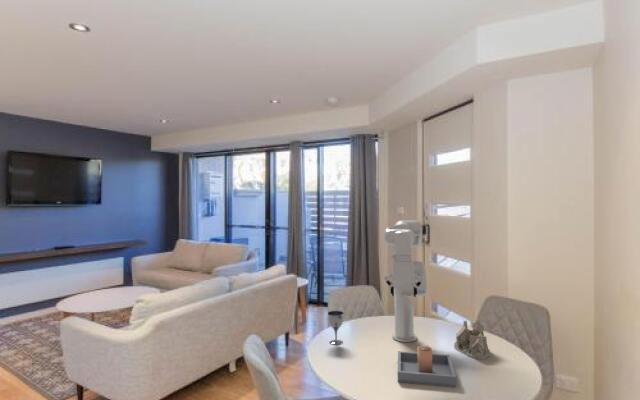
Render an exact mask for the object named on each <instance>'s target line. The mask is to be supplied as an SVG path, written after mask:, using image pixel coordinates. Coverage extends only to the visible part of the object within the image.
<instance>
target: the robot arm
mask: <svg viewBox="0 0 640 400" xmlns="http://www.w3.org/2000/svg"><path fill="white" fill-rule="evenodd" d="M383 236H384V237H383V238H384V243H385V244H386V245H389V246H391V250H392V252H393V255H391V259H392V260H393V261H392V264H391V265H392V267H391V268H392V269H391V273H389V274H387V275H385V276H384V277H383V279H384V280H385V283H386V284H387V285H388V286H389V287H390V294H391V295H392V297H393V298H394V299H393V300H394V302H393V303H394V332H393V333H392V334H391V336H392V339H393V340H394V341H397V342H402V343H411V342H414V341H417V339H418V335H417V334H416V333H415V327H414V325H415V324H414V321H415V320H414V303H413V301H412V300H411V299H410V297H414V298H416V297H425V296H426V295H427V294H428V280H427V268H426V266H425V263H424V262H423V261H421V260H413V259H412V255H413V254H412V248H417V247H421V245H422V244H423V225H422V223H421V221H420V220H416V219H415V220H410V219H408V220H407V219H406V220H398V221H397V222H396V223H395V225H391V226H388V227H386V229H385V230H384V235H383ZM390 278H391V280H392V281H390Z"/></svg>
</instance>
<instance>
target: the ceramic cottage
mask: <svg viewBox="0 0 640 400" xmlns="http://www.w3.org/2000/svg"><path fill="white" fill-rule="evenodd" d="M471 324H472V330H471V329H469V328H468V321H467V320H463V323H462V325H463V326H462V327H461V328H460V330H459V331H458V332H457V333H456V337H455V338H456V339H455V342H454V343H453V344H454V345H453V347H454V350H456V351H457V352H459V353H461V354H463V355H464V356H466V357H467V358H471V359H475V360H476V359H477V360H487V358H488V357H490V355H491V351H490V349H489V346H488V343H487V342H488V341H487V336H485V333H484V331H485V329H484V324H483V323H481V320H480V318H479V317H478V318H477V319H476V320H475V322H472V323H471Z"/></svg>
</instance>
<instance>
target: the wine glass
mask: <svg viewBox="0 0 640 400" xmlns="http://www.w3.org/2000/svg"><path fill="white" fill-rule="evenodd" d="M327 320H328V323H329V324H328V325H329V326H330V327H331V328H332V329H333V331H334V335H335V337H334V339H331V340H330V341H329V342H328V343H329V344H330V345H332V346H340V345H343V344H344V341H343V340H341V339H338V331H339V329H340V328H341V327H342V325H343V324H344V311H341V310H329V311H328V312H327Z"/></svg>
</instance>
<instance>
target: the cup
mask: <svg viewBox="0 0 640 400" xmlns="http://www.w3.org/2000/svg"><path fill="white" fill-rule="evenodd" d="M416 352H417V366H418V371H419V372H421V373H432V371H433V369H432V354H433V348H432V347H431V346H428V345H419V346H417V348H416Z"/></svg>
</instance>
